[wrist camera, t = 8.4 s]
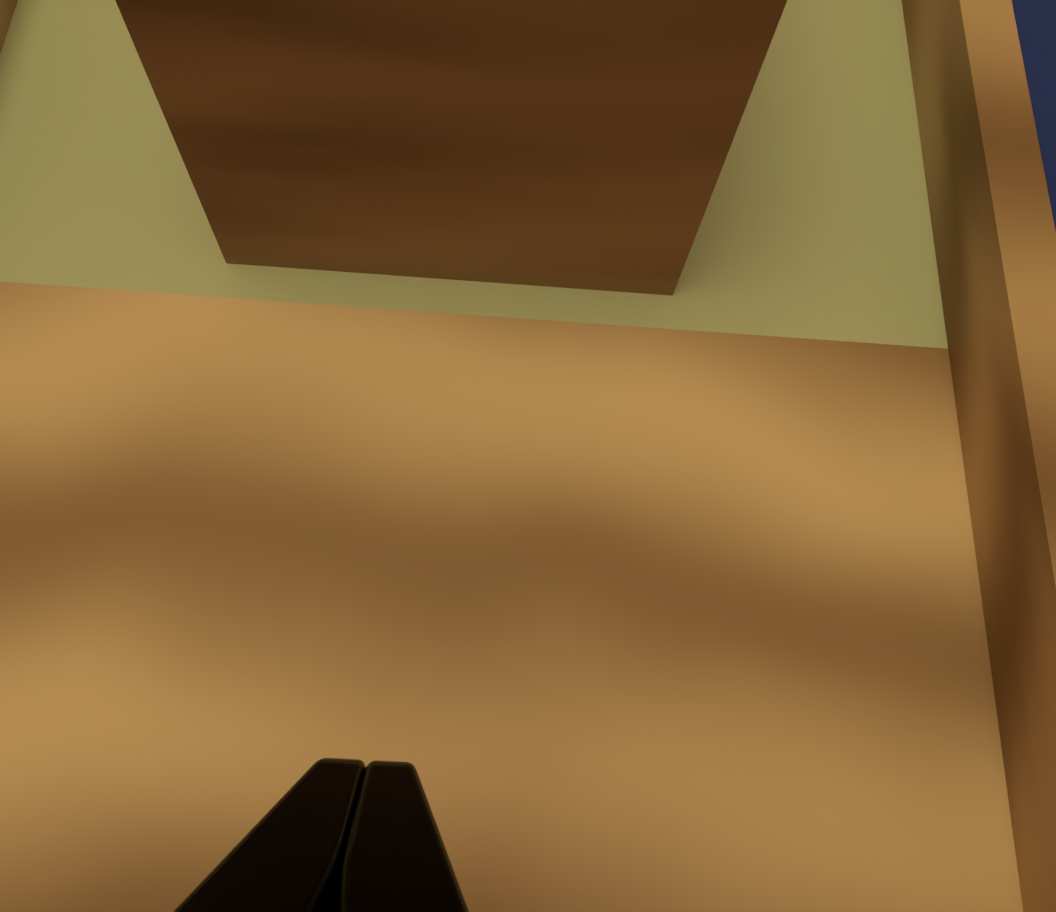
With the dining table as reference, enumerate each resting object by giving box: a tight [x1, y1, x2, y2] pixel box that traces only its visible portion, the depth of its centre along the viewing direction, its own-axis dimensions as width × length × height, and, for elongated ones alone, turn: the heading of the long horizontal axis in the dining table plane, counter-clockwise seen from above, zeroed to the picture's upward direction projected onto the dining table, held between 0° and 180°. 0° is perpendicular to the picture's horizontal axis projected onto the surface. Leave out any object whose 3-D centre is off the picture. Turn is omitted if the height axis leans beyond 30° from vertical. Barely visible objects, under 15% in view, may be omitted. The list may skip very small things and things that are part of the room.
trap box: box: [0, 0, 1056, 912], centre depth 18 cm, size 51×20×4 cm, turn 177°
